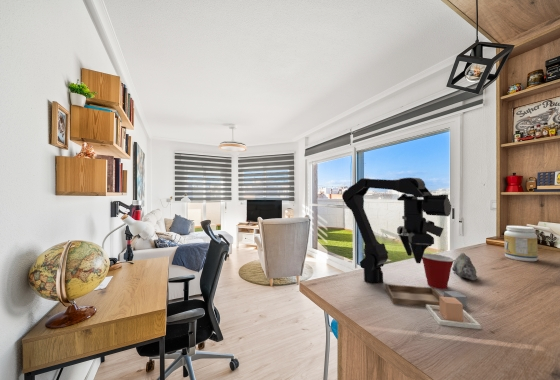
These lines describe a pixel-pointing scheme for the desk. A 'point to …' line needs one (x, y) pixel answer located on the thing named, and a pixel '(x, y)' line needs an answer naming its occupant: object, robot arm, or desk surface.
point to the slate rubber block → (456, 296)
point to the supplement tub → (521, 243)
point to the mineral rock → (464, 267)
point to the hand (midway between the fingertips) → (413, 259)
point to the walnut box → (412, 295)
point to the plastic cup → (437, 269)
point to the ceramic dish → (453, 323)
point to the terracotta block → (451, 309)
